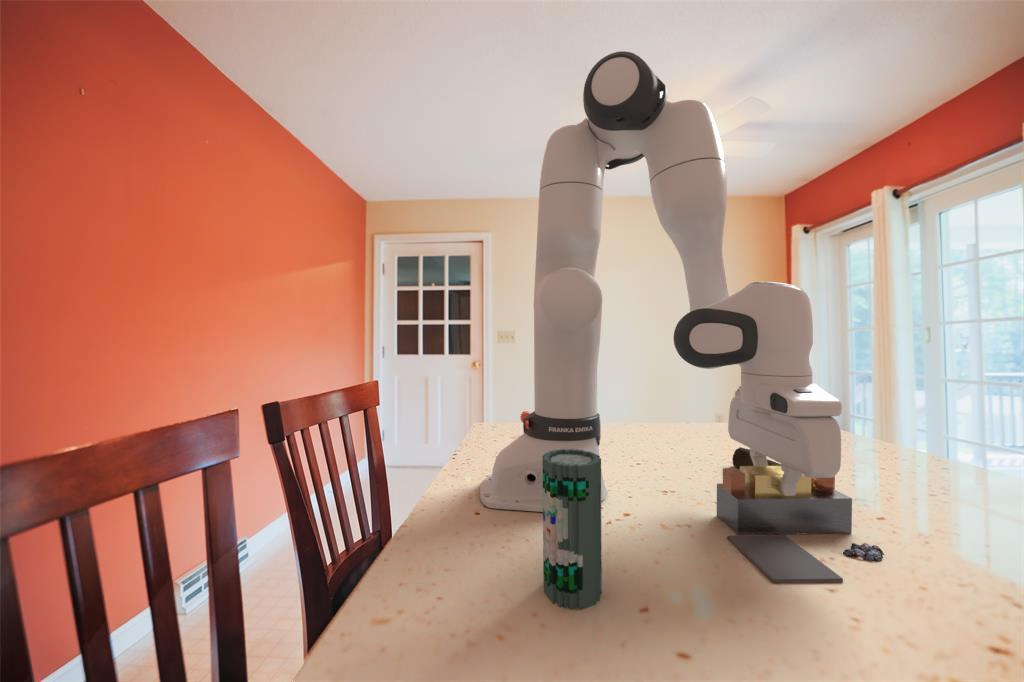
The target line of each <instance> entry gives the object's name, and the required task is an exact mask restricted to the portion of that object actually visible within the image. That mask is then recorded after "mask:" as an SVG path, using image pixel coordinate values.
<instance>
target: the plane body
mask: <svg viewBox="0 0 1024 682" xmlns="http://www.w3.org/2000/svg"><path fill="white" fill-rule="evenodd" d="M835 476H836V475H835ZM835 476H834V477H831V478H811V496H754V495H752V494H751V493H749V492H748V491H747V490H745V473H743V472H742V471H740V469H738V468H736V467H727V468H726V467H723V468H722V483H716V516H717V517H718V519H720V520H721V521H722V522H723V523H724V524H725V525H726V526H728V527H729V528H730V529H731V530H732V531H733V532H734V533H735V534H736V536H738V535H739V534H740V535H746V534H760V535H802V534H801V533H826V534H825V535H828V534H827V533H831V534H832V533H852V529H853V528H852V527H853V526H852V525H853V524H852V523H853V522H852V521H853V517H852V516H853V497H851V496H848V495H847V494H844V493H842V492H840V491H838V490H836V489H835V487H836V477H835ZM798 533H799V534H798ZM831 534H830V535H831ZM832 535H833V534H832Z"/></svg>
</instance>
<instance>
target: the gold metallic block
mask: <svg viewBox="0 0 1024 682" xmlns="http://www.w3.org/2000/svg"><path fill="white" fill-rule="evenodd" d="M739 470H740V471H742V472H743V473H745V490H747V491H748V492H749V493H751V494H752V495H754V496H786V495H784V494H782V493H781V492H779V491H778V490H777V480H781V479H782V476H783V474H784V471H782V470H781V466H740V469H739ZM794 496H811V478H810V477H807V476H805V475H802V476H801V478H800V479H799V481H798V482H797V483H796V494H795V495H794Z"/></svg>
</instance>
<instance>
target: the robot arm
mask: <svg viewBox="0 0 1024 682" xmlns="http://www.w3.org/2000/svg"><path fill="white" fill-rule="evenodd" d="M582 93H583V94H582V95H583V96H582V102H583V109H584V113H585V116H586V118H584V120H582V121H581V122H579V123H577V124H570V125H569V124H568V125H566V126H561V127H560V128H558V129H556V130H555V131H554V132H553V133H552V134H551V135H550V136H549V138H548V140H547V143H546V147H545V150H544V155H543V160H542V165H541V172H540V180H539V191H538V195H539V196H538V211H537V213H538V215H537V233H536V234H537V235H536V251H535V254H536V256H535V271H534V291H533V330H534V332H533V339H534V340H533V341H534V343H533V344H534V346H533V350H534V351H533V353H534V357H533V359H534V361H533V364H534V365H533V368H534V369H533V371H534V373H533V375H534V377H533V378H534V379H533V383H534V411H532V412H531V413H530V412H529V411H527V410H524V411H522V413H520V416H519V417H520V421H521V422H522V423H523V424H522V426H523V427H522V429H523V433H522V434H521V435H519V436H518V437H517V438H516V439H514V440H513V441H512V442H511V443H509V444H508V445H507V446H505V447H504V448H503V449H501V450H500V452H499V453H498V454H497V456H496V457H495V460H494V464H493V467H492V472H491V474H490V475H488V476H486V477H485V478H484V479H483V480H482V482H481V484H480V488H479V498H480V501H481V503H482V504H483V505H484V506H485V507H487V508H488V509H499V510H510V511H511V510H513V511H523V512H524V511H525V512H526V511H527V512H539V513H543V458H542V456H544V454H545V453H548V452H550V451H553V450H560V449H566V450H568V449H574V450H576V449H578V450H584V451H586V452H587V451H590V452H592V453H594V454H597V455H599V456H600V449H599V448H600V447H599V446H600V444H601V434H602V433H601V431H602V430H601V418H600V413H598V363H599V362H598V361H599V352H600V343H601V333H602V331H601V329H602V313H603V294H602V291H601V290H602V289H601V288H600V285H599V284H598V282H597V281H596V279H595V274H596V267H597V259H598V253H599V247H600V242H601V231H602V230H601V229H602V216H603V215H602V214H603V200H604V199H603V198H604V197H603V195H604V177H605V170H612V169H615V168H618V167H620V166H626V165H631V164H633V163H636V162H638V161H641V160H642V159H643V158H644V159H645V161H646V163H647V171H648V178H649V184H650V185H649V186H650V192H651V199H652V201H653V206H654V208H655V213H656V214H657V217H658V220H659V222H660V225H661V227H662V228H663V231H664V232H665V233H666V234H667V236H668V237H669V238H670V240H671V242H672V243H673V245H674V247H675V248H676V250H677V252H678V254H679V257H680V259H681V262H682V265H683V272H684V276H685V284H686V291H687V295H688V301H689V312H687V313H686V314H684V315H683V317H681V318H680V320H678V322H677V324H676V326H675V327H674V330H673V331H674V332H673V345H674V347H675V350H676V352H677V354H678V355H679V356H680V358H681V359H682V360H683V361H685V362H686V363H688V364H690V365H691V366H694V367H695V368H696V367H697V368H700V369H706V370H713V369H720V368H722V367H726V366H733V365H738V366H739V367H740V385H739V386H738V388H737V389H736V390H735V391H734V396H733V398H732V399H731V401H730V405H729V411H728V422H727V423H728V425H727V426H728V427H727V431H728V435H729V437H730V438H731V439H732V440H733V441H735V442H737V443H738V444H741V445H744V446H746V447H748V448H749V450H750V456H751V459H752V462H753V464H754V466H768V462H767V457H768V458H769V459H770V460H772V461H774V462H776V463H779V464H781V470H782V471H784V474H783V476H782V479H781V480H777V490H778V491H779V492H781V493H782V494H784V495H786V496H794V495H795V494H796V483H797V482H798V481H799V479H800V478H801V476H802V475H805V476H807V477H810V478H831V477H834V476H836V475H838V473H839V472H840V470H841V464H842V434H841V427H840V425H839V422H838V421H837V420H836V418H834V417H839V416H841V415H842V412H843V411H842V409H843V408H842V407H843V406H842V402H841V401H840V400H839V399H838V398H837V397H835V396H834V395H832V394H830V393H829V392H827V390H824V389H823V388H821V387H820V386H819V385H818V384H817V383H815V382H813V369H812V366H811V363H810V352H811V349H812V347H813V343H814V342H813V341H814V339H813V338H814V337H813V336H814V327H813V326H814V325H813V311H812V305H811V301H810V297H809V295H808V294H807V292H806V291H805V290H803V289H802V288H801V287H798V286H796V285H794V284H789V283H785V282H777V281H776V282H773V281H755V282H751V283H750V282H749V283H748V284H747V285H746V286H745V287H743V288H742V289H740V290H738V291H737V292H735V293H734V294H732V295H730V296H729V291H728V285H727V278H726V271H725V266H724V265H725V263H724V259H723V257H724V256H723V239H724V238H723V237H724V231H725V230H724V229H725V222H726V211H727V200H728V198H727V197H728V181H727V180H728V179H727V178H728V177H727V169H726V161H725V155H724V150H723V144H722V141H721V137H720V134H719V131H718V128H717V125H716V122H715V119H714V117H713V113H712V112H711V110H710V108H709V107H708V106H707V104H705V103H704V102H702V101H700V100H696V99H684V100H679V101H675V102H670V101H668V100H667V97H668V87H667V86H666V84H665V83H664V82H663V81H662V80H661V79H660V78H659V77H658V76H657V75H656V74H655V72H654V71H653V70H652V68H651V67H650V66H649V65H648V63H647V62H645V60H644V59H642V58H641V56H639V55H637V54H635V53H633V52H631V51H625V50H624V51H622V50H621V51H616V52H612V53H609V54H608V55H606V56H604V57H602V58H601V59H600V60H598V61H597V62H596V63H595V64H594V66H593V67H592V68H591V69H590V71H589V73H588V75H587V77H586V80H585V82H584V87H583V92H582ZM607 495H608V491H607V488H606V485H605V480H604V476H603V472H602V469H601V502H602V501H604V500H605V498H606V497H607Z"/></svg>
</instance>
